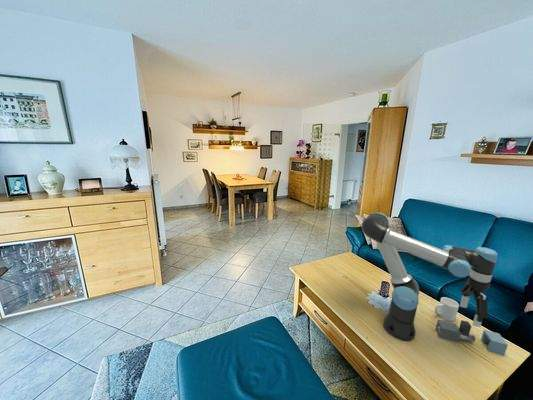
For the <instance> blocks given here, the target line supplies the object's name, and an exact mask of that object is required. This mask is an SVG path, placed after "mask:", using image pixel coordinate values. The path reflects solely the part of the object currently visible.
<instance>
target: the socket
mask: <svg viewBox="0 0 533 400" xmlns="http://www.w3.org/2000/svg"><path fill="white" fill-rule="evenodd" d="M480 341H481V343H486V344H488V346H487V351H488V352H490V353H494V354H498V355H500V356H501V355H502V356H505V354H506V351H507V349H508V346H509V344H508V343H507V342H506V340H505V339H504V337H502V335H501V334H500V333H498V332H494V331H491V330H487V329H484V330H483V331H482V335H481V338H480Z"/></svg>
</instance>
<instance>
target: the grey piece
mask: <svg viewBox="0 0 533 400" xmlns="http://www.w3.org/2000/svg"><path fill="white" fill-rule="evenodd" d="M458 328H459V330H460V332H461V336H460V339H461V340H462V339H463V340H466V341H469V342H472V343H473V342H476V337H475V334H472V333H470V332H471V329H472V325H471V323H470V322H469V321H468V320H462V319H461V321H460V325H459V327H458ZM437 330H438V331H437ZM437 330H436V331H437V333H438V334H440V331H441V327H440V326H438V327H437Z"/></svg>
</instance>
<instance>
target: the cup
mask: <svg viewBox="0 0 533 400" xmlns="http://www.w3.org/2000/svg"><path fill="white" fill-rule="evenodd" d="M459 308H460V304H459V303H458V302H457V301H456V300H454V299H452V298H449V297H446V296H445V297H444V296H443V297H440V301H439V303H438V304H436V306H435V307H434V313H435V314H436V315H438V316H439V317H440V318H441V319H442V320H443V321H447V322H454V321H455V320H456V317H457V314H458V310H459Z"/></svg>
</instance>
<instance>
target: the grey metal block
mask: <svg viewBox="0 0 533 400" xmlns="http://www.w3.org/2000/svg"><path fill="white" fill-rule="evenodd" d="M435 325H436V327H435V331H437V332H438V330H437V327H438V326H440V327H441V331H440V333H439V336H438V337H439V339H442V340H445V341H449V342H454V343H458V344H459V343H460V339H461V338H460V336H461V332H460V330H459V327H458V325H457V323H454V322H452V321H447V320H443V319H437V321H436V324H435Z"/></svg>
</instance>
